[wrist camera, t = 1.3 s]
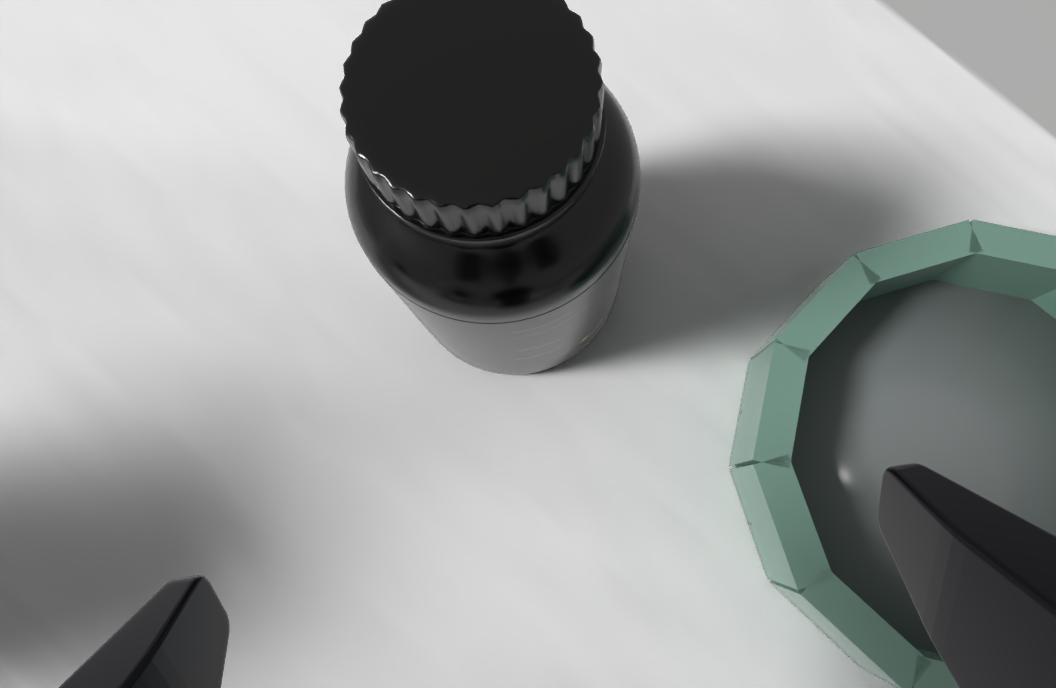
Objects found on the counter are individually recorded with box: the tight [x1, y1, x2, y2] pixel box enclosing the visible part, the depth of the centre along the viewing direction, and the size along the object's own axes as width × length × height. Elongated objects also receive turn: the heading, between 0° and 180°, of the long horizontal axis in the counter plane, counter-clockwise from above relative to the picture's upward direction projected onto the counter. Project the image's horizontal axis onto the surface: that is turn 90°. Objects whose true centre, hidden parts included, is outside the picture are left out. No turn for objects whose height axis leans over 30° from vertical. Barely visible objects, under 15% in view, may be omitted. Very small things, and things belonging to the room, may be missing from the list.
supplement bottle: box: [339, 0, 640, 375], centre depth 18 cm, size 7×7×12 cm
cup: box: [729, 220, 1056, 688], centre depth 21 cm, size 13×13×3 cm
